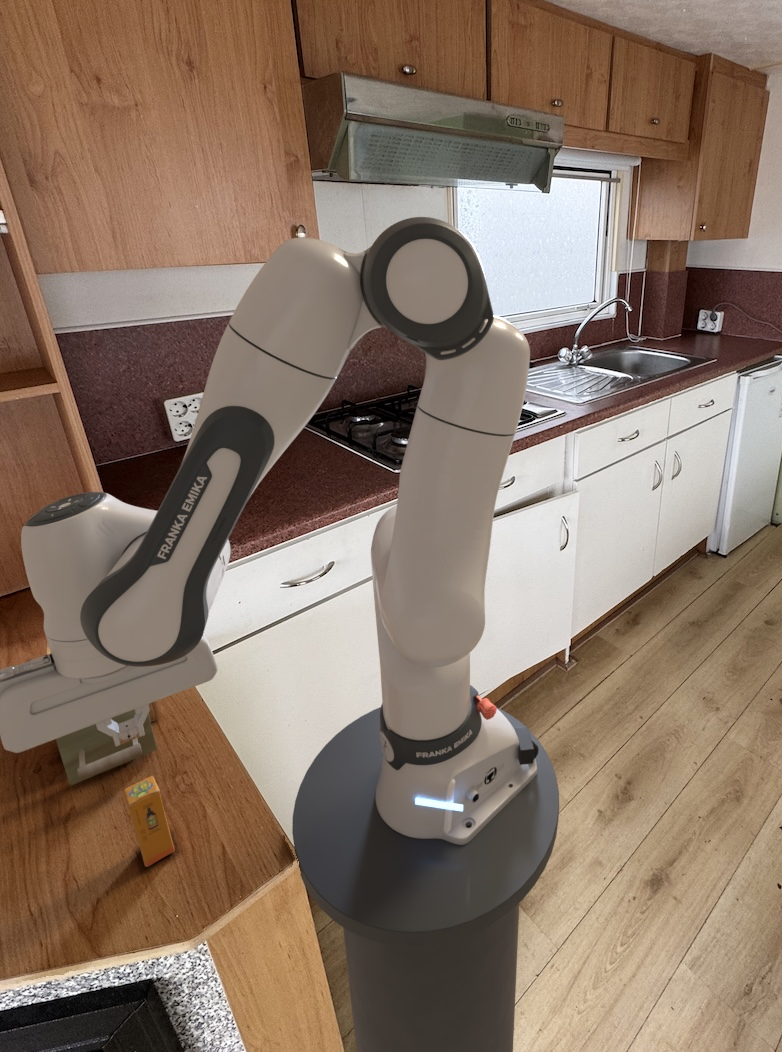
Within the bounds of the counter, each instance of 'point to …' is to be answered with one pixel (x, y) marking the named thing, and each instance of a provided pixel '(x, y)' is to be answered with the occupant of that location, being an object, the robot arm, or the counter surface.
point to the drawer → (101, 749)
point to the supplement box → (149, 820)
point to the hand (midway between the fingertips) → (130, 737)
